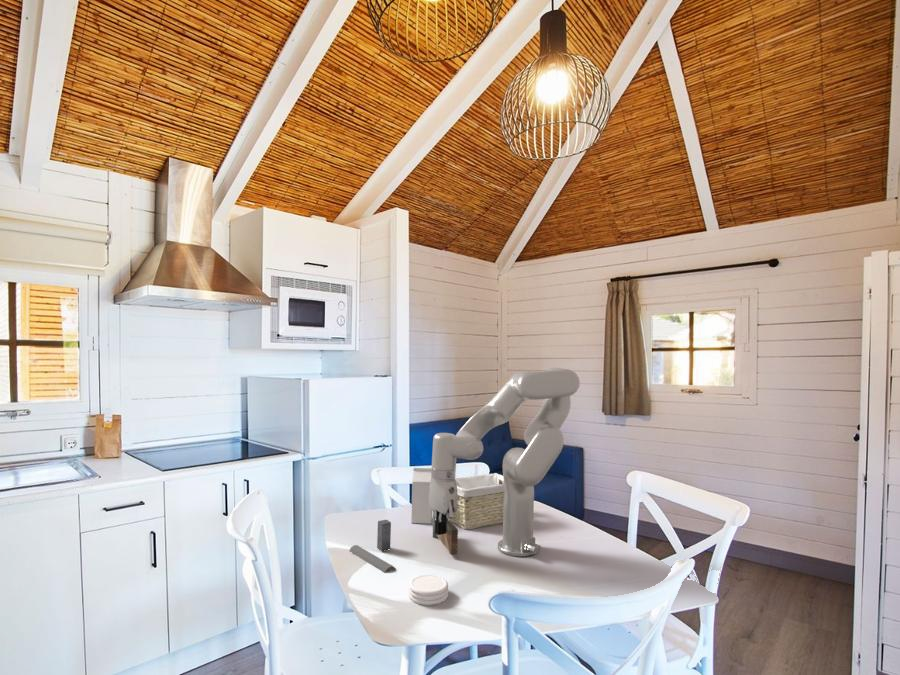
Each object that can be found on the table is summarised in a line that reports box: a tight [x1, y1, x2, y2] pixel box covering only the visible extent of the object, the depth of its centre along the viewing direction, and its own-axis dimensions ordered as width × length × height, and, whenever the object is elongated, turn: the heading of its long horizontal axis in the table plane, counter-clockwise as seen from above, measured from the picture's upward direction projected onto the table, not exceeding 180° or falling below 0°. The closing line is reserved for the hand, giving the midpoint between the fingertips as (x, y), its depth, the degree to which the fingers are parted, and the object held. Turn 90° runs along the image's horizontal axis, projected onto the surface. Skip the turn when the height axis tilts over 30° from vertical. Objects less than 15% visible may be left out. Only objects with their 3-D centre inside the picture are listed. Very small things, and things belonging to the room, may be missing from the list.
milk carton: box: [410, 467, 433, 525], centre depth 182 cm, size 7×7×19 cm
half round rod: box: [349, 544, 396, 573], centre depth 148 cm, size 4×20×2 cm, turn 42°
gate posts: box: [376, 511, 439, 552], centre depth 161 cm, size 3×23×10 cm, turn 125°
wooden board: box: [437, 519, 459, 556], centre depth 157 cm, size 16×2×7 cm, turn 18°
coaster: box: [408, 574, 449, 606], centre depth 127 cm, size 10×10×4 cm
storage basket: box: [449, 472, 504, 530], centre depth 185 cm, size 24×16×15 cm
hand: (440, 533), depth 154 cm, fingers closed
